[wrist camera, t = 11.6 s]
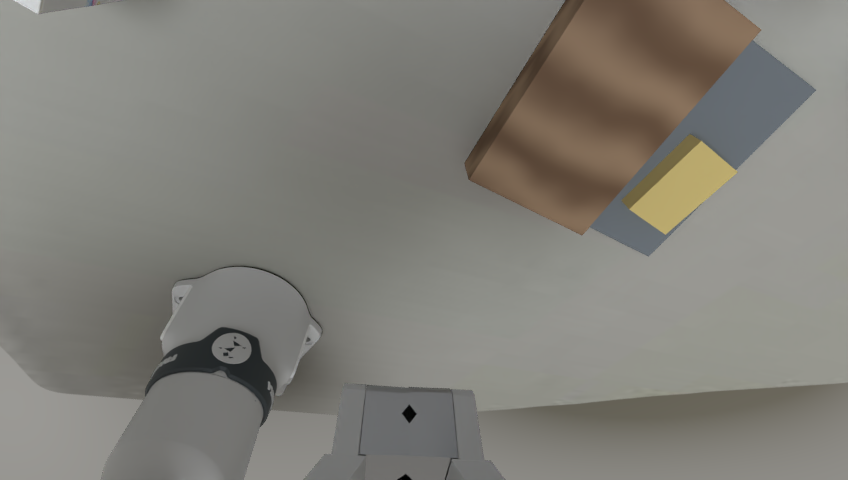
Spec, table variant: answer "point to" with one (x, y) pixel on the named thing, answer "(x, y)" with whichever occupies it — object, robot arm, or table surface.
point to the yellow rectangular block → (678, 184)
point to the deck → (603, 100)
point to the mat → (717, 132)
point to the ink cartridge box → (59, 4)
